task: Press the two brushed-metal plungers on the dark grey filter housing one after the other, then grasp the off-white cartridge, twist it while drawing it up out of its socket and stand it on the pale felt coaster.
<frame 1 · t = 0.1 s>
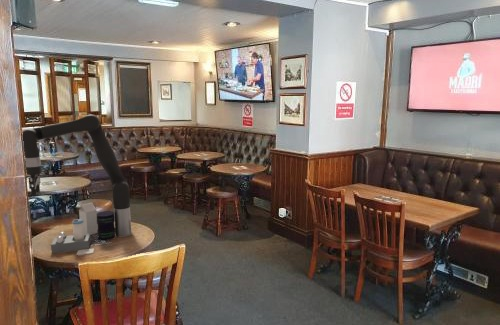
hand: (35, 193, 201), 29 cm above the table, fingers open, 8 cm apart
coaster: (85, 252, 194), on the table
cartridge: (79, 246, 202), resting in housing
milk carton: (89, 233, 222), on the table
plunger 1: (60, 241, 195), point 5 cm above the table, slide at 0.0 cm
plunger 2: (62, 237, 201), point 5 cm above the table, slide at 0.0 cm
storage jar: (106, 237, 215), on the table
housing: (71, 247, 201), on the table
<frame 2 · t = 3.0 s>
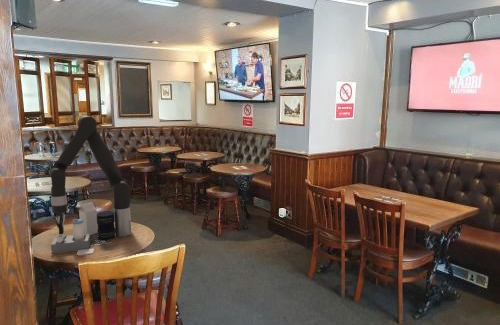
hand: (61, 233, 201), 7 cm above the table, fingers closed
plunger 2: (62, 238, 202), point 5 cm above the table, slide at 0.6 cm, touching gripper
everything else where it was.
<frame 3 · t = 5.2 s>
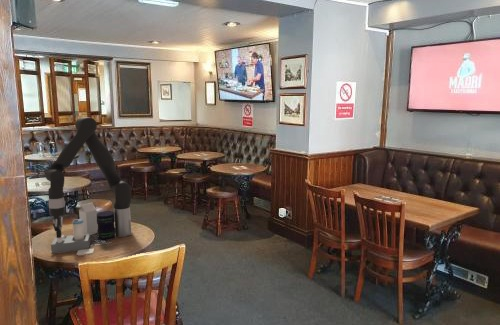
hand: (59, 237, 194), 8 cm above the table, fingers closed
plunger 1: (60, 241, 195), point 5 cm above the table, slide at 0.2 cm, touching gripper
plunger 2: (62, 240, 202), point 3 cm above the table, slide at 2.0 cm
everything else where it was.
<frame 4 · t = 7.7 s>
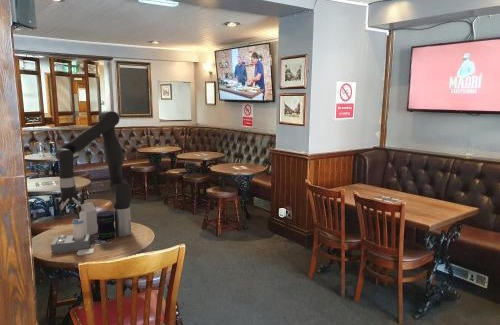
hand: (71, 214, 197), 19 cm above the table, fingers open, 8 cm apart
plunger 1: (60, 245, 195), point 3 cm above the table, slide at 2.0 cm
everything else where it was.
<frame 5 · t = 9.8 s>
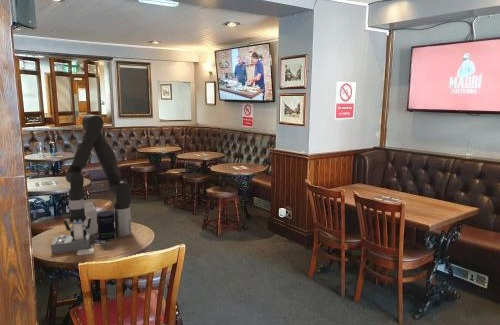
hand: (79, 236, 201), 6 cm above the table, fingers closed on cartridge, 5 cm apart
cartridge: (79, 246, 202), resting in housing, touching gripper
everything else where it was.
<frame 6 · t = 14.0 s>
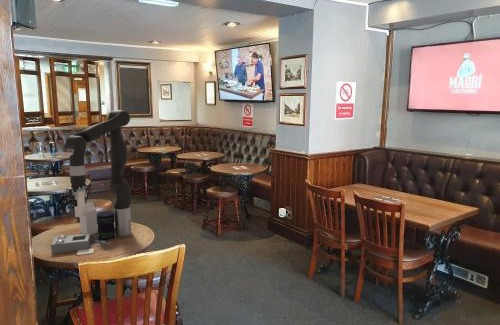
hand: (79, 205, 192), 26 cm above the table, fingers closed on cartridge, 5 cm apart
cartridge: (80, 215, 193), point 20 cm above the table, touching gripper
everything else where it was.
when the fingers open (7 cm above the table, at t = 18.2 s): cartridge stays where it is, resting on coaster.
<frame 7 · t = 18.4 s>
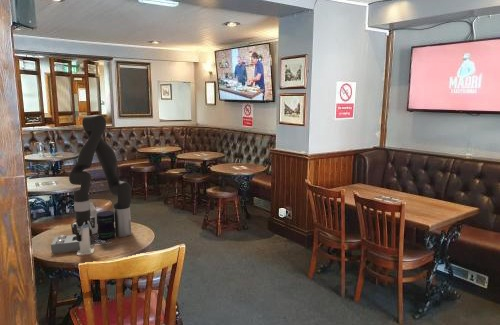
hand: (84, 238, 193), 8 cm above the table, fingers open, 6 cm apart
cartridge: (85, 251, 194), point 1 cm above the table, touching coaster
everything else where it was.
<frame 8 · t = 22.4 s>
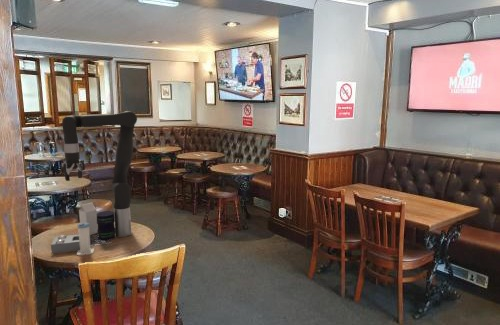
hand: (74, 179, 207), 36 cm above the table, fingers open, 8 cm apart
nothing on the table moved.
at the end: cartridge inside the target area on the coaster (0.0 cm from its centre), point 0.6 cm above the coaster's base; cartridge tilted 0°; plunger 1 slide at 2.0 cm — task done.
